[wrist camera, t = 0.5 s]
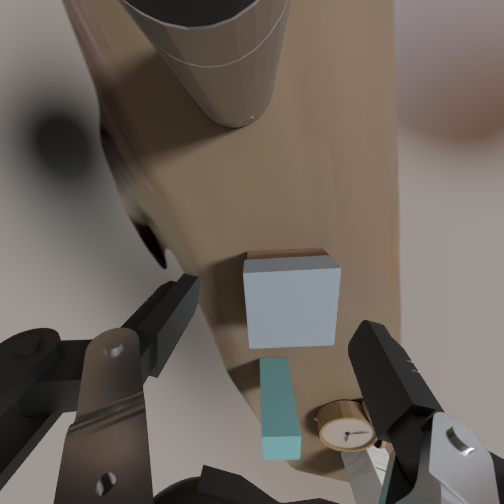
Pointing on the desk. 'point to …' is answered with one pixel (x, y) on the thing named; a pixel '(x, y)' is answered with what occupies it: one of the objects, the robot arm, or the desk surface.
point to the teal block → (278, 411)
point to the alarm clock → (347, 427)
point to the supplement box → (366, 473)
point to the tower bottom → (285, 253)
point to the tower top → (291, 301)
